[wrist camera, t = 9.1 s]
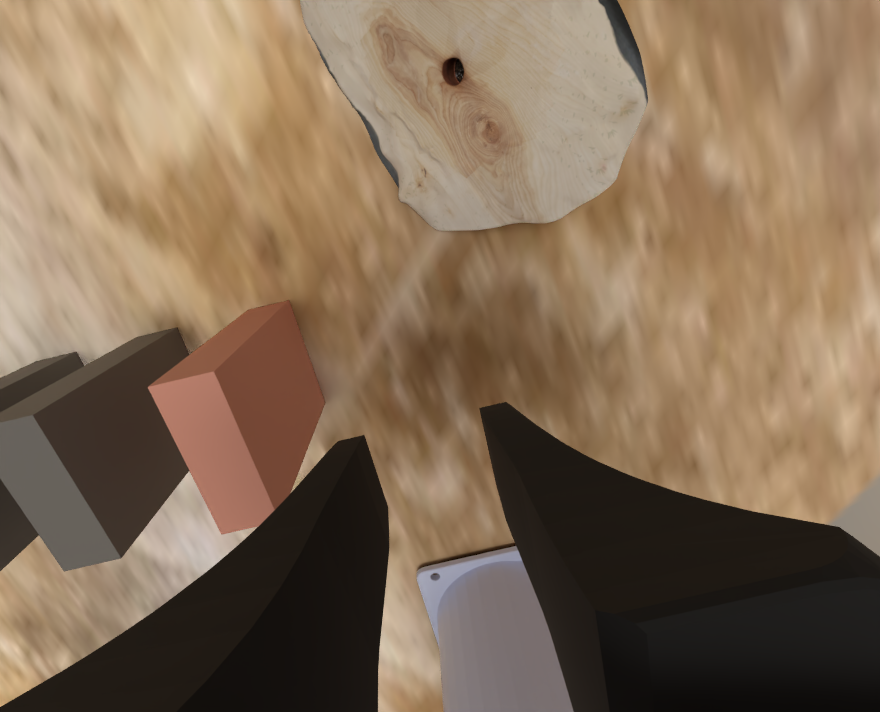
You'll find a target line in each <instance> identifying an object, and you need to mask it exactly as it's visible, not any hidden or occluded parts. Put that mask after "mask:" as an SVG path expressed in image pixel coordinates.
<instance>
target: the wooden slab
mask: <svg viewBox="0 0 880 712" xmlns="http://www.w3.org/2000/svg"><path fill="white" fill-rule="evenodd" d="M300 4H301V10H302V14H303V20H304V23H305V26H306V28H307V30H308V32H309V34H310V35H311V38H312V39H313V41H314V42H315V44H316V46H317V48H318V50H319V52H320V56H321V58H322V60H323V62H324V63H325V65H326V67H327V69H328V71H329V73H330V74H331V75H332V77H333V78H334V80H335V81H336V83H337V85H338V86H339V88H340V89H341V90H342V92H343V93H344V94H345V96H346V97H347V99H348V100H349V101H350V103H351V104H352V106H353V107H354V108H355V109H356V111H357V112H358V114H359V115H360V117H361V119H362V121H363V122H364V124H365V126H366V128H367V130H368V133H369V135H370V138H371V140H372V143H373V145H374V148H375V150H376V152H377V154H378V156H379V158H380V159H381V161H382V163H383V164H384V166H385V167H386V169H387V170H388V172H389V173H390V175H391V176H392V178H393V180H394V181H395V183H396V184H397V186H398V188H399V194H398V196H399V200H400V202H404V203H406V204H408V205H409V206H410V207H411V208H412V209H414V210H415V211H416V213H417V214H419V215H420V216H421V217H422V218H423V219H424V220H425V221H426V222H427V223H428V224H429V225H430V226H432V227H433V228H435V229H437V230H441V231H459V230H482V229H489V228H496V227H500V226H504V225H508V224H513V223H549V222H553V221H556V220H558V219H560V218H562V217H564V216H565V215H566V214H568V213H569V212H571V211H572V210H574V209H575V208H577V207H578V206H580V205H582V204H584V203H586V202H588V201H590V200H591V199H593V198H595V197H596V196H598V195H599V194H601V193H602V192H603V191H604V190H606V189H607V188H608V187H609V186H610V185H612V184H613V183H614V181H615V180H616V179H617V175H618V172H619V169H620V167H621V164H622V161H623V158H624V156H625V153H626V151H627V148H628V146H629V144H630V142H631V140H632V138H633V136H634V134H635V132H636V130H637V128H638V125H639V123H640V121H641V118H642V116H643V114H644V111H645V109H646V106H647V103H648V96H647V88H646V81H645V75H644V70H643V65H642V60H641V56H640V52H639V49H638V46H637V44H636V41H635V39H634V36H633V34H632V32H631V29H630V27H629V24H628V22H627V20H626V18H625V15H624V13H623V11H622V9H621V7H620V5H619V3H618V1H617V0H300Z"/></svg>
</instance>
